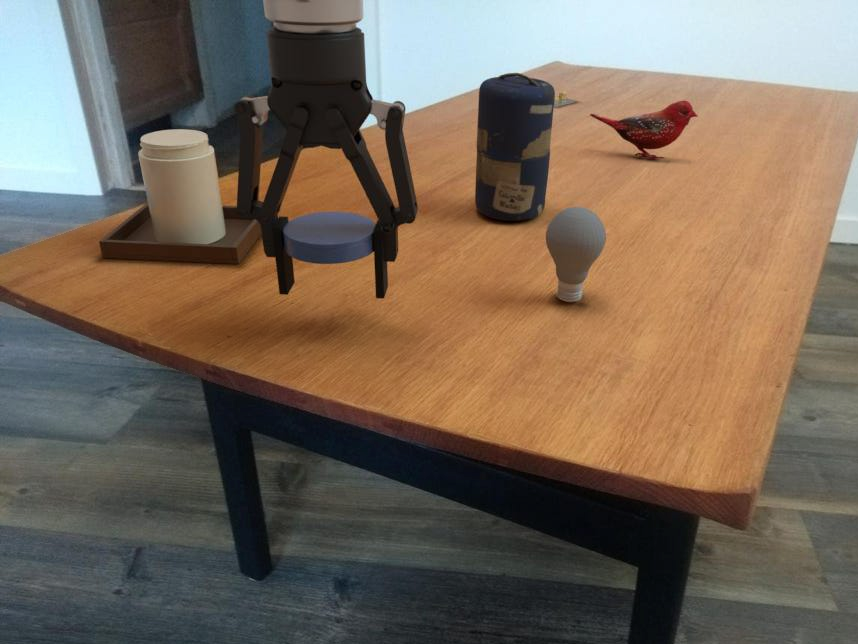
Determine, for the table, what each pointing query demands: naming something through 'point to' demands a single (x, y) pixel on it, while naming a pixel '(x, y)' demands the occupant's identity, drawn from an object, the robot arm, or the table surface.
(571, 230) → the light bulb
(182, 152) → the jar
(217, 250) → the tray
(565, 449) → the table surface
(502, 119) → the canister
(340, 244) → the jar lid
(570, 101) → the dice set
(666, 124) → the decorative bird figurine
